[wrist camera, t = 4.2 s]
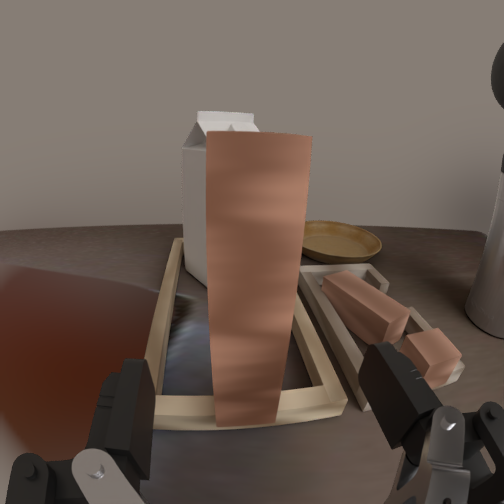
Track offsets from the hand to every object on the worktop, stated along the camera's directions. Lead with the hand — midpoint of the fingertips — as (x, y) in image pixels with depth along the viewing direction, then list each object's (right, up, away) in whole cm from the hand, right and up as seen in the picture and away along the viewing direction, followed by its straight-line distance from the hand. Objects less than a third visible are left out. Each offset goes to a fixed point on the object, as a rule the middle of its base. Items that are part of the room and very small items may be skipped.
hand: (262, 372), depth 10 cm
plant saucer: (+12, +4, +35) cm, 37 cm away
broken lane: (+11, -3, +17) cm, 21 cm away
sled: (-3, -1, +19) cm, 19 cm away
